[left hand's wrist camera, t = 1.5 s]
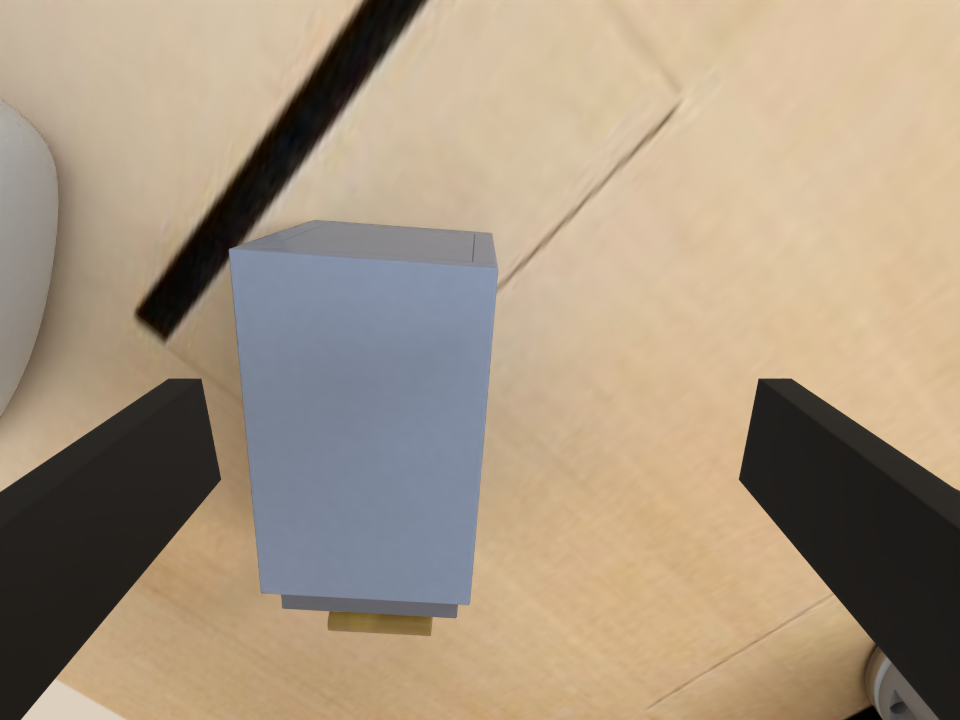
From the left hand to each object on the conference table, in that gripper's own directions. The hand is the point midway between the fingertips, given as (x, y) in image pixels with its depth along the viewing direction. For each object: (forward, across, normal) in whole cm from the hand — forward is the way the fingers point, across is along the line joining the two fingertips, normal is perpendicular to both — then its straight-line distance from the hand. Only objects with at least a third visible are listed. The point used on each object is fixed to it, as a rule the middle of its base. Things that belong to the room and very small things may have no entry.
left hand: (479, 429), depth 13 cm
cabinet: (+21, -5, -6) cm, 22 cm away
